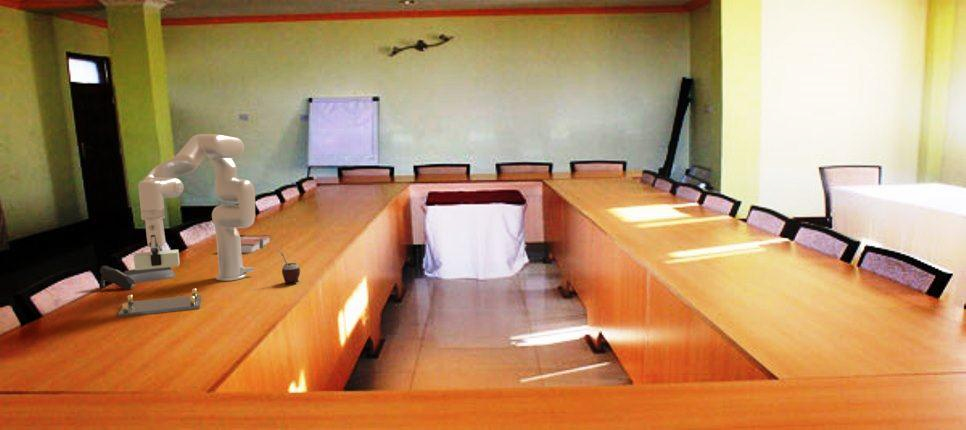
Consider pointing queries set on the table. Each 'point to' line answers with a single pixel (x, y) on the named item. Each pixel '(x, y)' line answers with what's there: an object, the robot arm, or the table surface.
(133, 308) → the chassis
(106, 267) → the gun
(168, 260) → the pale grey rectangular block
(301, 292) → the table surface
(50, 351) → the table surface
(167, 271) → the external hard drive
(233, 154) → the robot arm
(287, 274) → the mate gourd
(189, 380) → the table surface
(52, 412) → the table surface
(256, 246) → the book
